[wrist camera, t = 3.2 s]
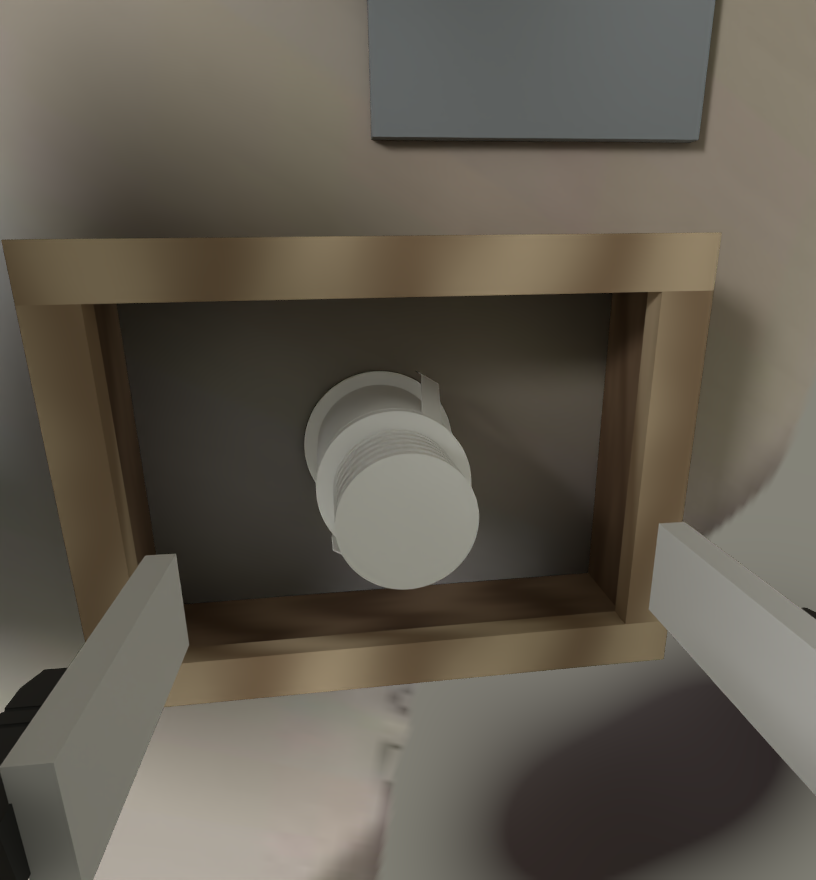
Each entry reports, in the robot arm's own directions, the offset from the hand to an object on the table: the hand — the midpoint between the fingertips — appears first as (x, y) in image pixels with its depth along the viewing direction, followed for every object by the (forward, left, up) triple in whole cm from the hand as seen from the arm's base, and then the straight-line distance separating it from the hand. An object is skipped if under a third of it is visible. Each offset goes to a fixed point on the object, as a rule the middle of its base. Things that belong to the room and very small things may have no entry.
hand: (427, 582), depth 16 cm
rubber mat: (+7, +19, -13) cm, 24 cm away
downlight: (0, 0, -13) cm, 13 cm away
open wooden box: (0, 0, -13) cm, 13 cm away
